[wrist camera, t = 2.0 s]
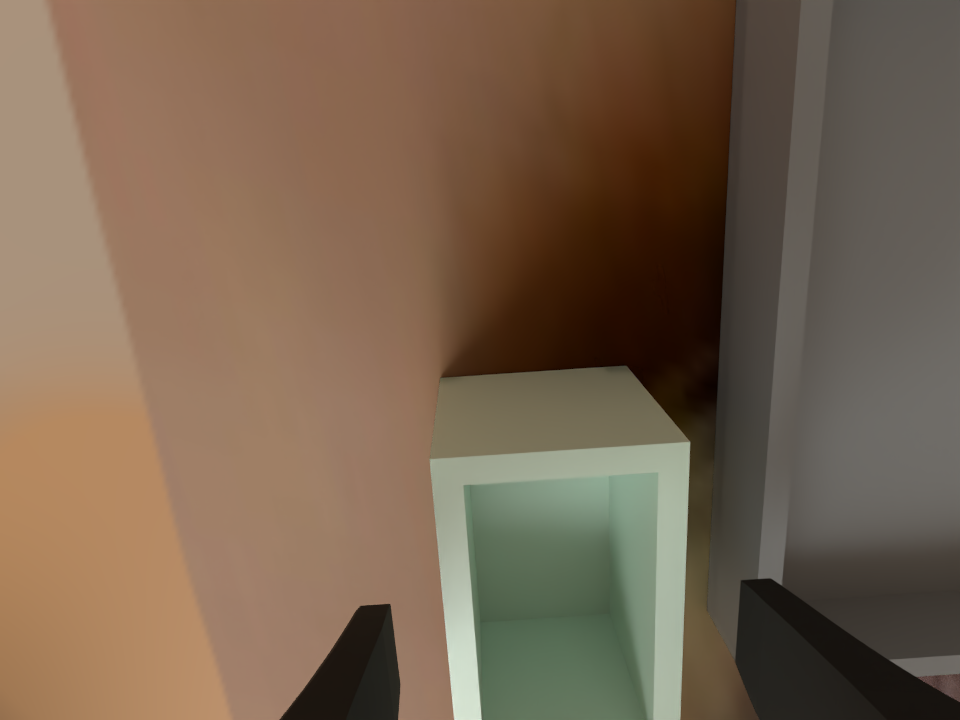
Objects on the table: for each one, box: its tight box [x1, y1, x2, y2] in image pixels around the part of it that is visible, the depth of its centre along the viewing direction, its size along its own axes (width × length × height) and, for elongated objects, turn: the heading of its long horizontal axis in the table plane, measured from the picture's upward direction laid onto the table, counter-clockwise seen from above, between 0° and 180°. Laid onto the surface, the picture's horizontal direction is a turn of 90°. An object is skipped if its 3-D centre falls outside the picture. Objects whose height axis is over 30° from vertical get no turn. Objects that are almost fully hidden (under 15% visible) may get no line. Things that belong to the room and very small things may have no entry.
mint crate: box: [430, 366, 690, 720], centre depth 15 cm, size 8×5×5 cm, turn 4°
